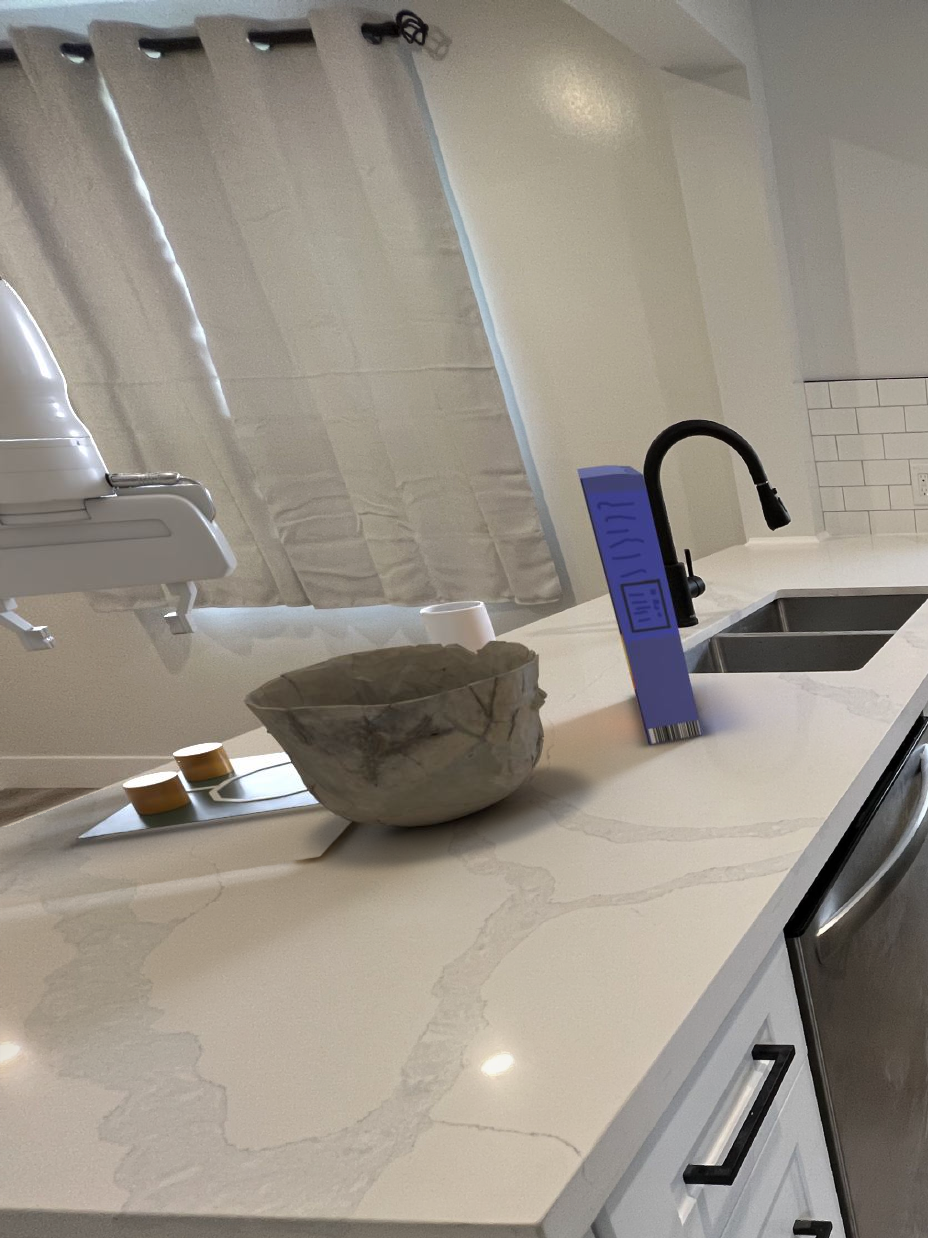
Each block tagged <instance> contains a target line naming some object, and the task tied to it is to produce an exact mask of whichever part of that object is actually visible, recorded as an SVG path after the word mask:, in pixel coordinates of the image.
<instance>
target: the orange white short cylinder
mask: <svg viewBox="0 0 928 1238" xmlns="http://www.w3.org/2000/svg"><path fill="white" fill-rule="evenodd" d="M177 773H178V772H175V771H163V772H155V773H150V774H145V775H142V776H139V777H136V778H133V779H129V780H128V781H126V782H124V783H123V784H122V786H121V787H122V788H123V791H124V792H125V794H126V797H128V799H129V802H130V803H132V805H133V807H134V809H135V811H136V812H137V814H140V815H150V814H157V813H162V812H166V811H170V810H173V809H176V808H179V807H182V806H184V805H186V804H188V803H189V802H190V801H191V799H190V797H189V795H188V793H187V791H186V789H185V787H184V786H183V784H182V782H181V780H180V778H179V776H178V774H177Z"/></svg>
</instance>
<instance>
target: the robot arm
mask: <svg viewBox="0 0 928 1238" xmlns="http://www.w3.org/2000/svg"><path fill="white" fill-rule="evenodd" d="M183 482H187V483H189V484H183ZM213 501H214V500H213V498H212V496H211V494H210V492H209V491H208V489H207V488H206V486H204V485H203V484H202V483H201V482H199V481H198V480H196V479H194V478H191V477H188V476H184V475H180V473H178V472H175V471H158V472H154V473H153V472H152V473H137V472H136V473H135V472H129V473H110V472H109V471H108V469H107V467H106V465H105V462H104V460H103V457H102V456H101V454H100V451H99V450H98V446H97V445H96V443H95V441H94V438H93V437H92V434H91V433H90V431H89V429H88V428H87V427H86V426H85V425H84V424H83V423H82V421H81V420H80V419H79V418H78V416H77V414H75V411H74V410H73V408H72V406H71V403H70V400H69V396H68V390H67V383H66V379H65V376H64V374H63V372H62V370H61V368H60V366H59V364H58V362H57V359H56V358H55V355H54V354H53V351H52V350H51V347H50V346H49V344H48V342H47V340H46V338H45V336H44V335H43V332H42V331H41V329H40V327H39V326H38V323H37V322H36V320H35V319H34V317H33V316H32V314H31V313H30V311H29V309H28V308H27V306H26V305H25V304H24V302H23V300H22V299H21V297H20V296H19V295H18V293H17V292H16V291H15V290H14V289H13V287H11V285H10V284H9V283H8V282H7V281H6V280H5V279H4V278H3V277H2V276H0V625H1V626H2V627H4V629H5V628H6V629H7V630H8V631H10V632H12V633H15V634H16V636H17V637H18V640H19V642H20V643H21V645H22V647H23V649H24V650H25V651H26V652H27V653H28V652H31V653H32V652H39V651H46V650H47V651H48V650H53V649H54V648H56V647H57V641H56V639H55V638H54V637H52V636H51V635H52V632H51V630H50V629H49V626H46V625H45V626H34V625H32V624H31V623H29V622H28V621H26V620H25V619H24V618H22V617H21V616H19V615H18V614H16V613H15V612H14V610H16V609H18V608H19V606H18V604H17V602H16V600H15V599H16V598H25V597H26V598H27V597H38V596H48V595H49V596H50V595H58V594H69V593H81V592H90V591H92V592H93V591H101V590H102V591H103V590H112V589H113V590H114V589H123V588H124V589H125V588H132V587H133V588H135V587H145V586H146V587H147V586H157V585H165V586H166V588H167V590H168V592H169V594H170V596H173V597H177V596H179V599H178V603H177V607H176V610H175V612H169V613H167V614H166V615H164V616H163V618H164V620H165V623H166V624H167V625H168V626H169V631H170V633H171V635H173V636H176V635H186V634H195V633H196V632H198V626H197V623H196V621H195V619H194V617H193V615H192V613H191V612H192V611H193V608H194V604H195V601H196V598H197V595H198V594H197V593H198V589H197V586H196V584H195V582H198V581H209V580H210V581H211V580H219V579H225V578H227V577H229V576H231V575H232V574H233V573H234V572H235V570H236V568H237V566H238V560H237V559H236V556H235V554H234V551H233V550H232V548H231V546H230V543H228V540H227V538H226V537H225V534H223V532H222V530H221V529H220V526H218V524H217V523H216V521H215V520H216V516H217V508H216V505H215V503H214V502H213Z"/></svg>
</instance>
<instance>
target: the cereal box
mask: <svg viewBox="0 0 928 1238" xmlns="http://www.w3.org/2000/svg"><path fill="white" fill-rule="evenodd" d="M576 471H577V474H578V479H579V481H580V482H579V483H580V486H581V490H582V493H583V494H582V495H583V498H584V502H585V505H586V509H587V513H588V517H589V520H590V524H591V528H592V532H593V536H594V541H595V543H596V548H597V552H598V556H599V560H600V563H601V567H602V571H603V575H604V578H605V583H606V587H607V590H608V591H607V592H608V594H609V598H610V602H611V605H612V610H613V613H614V618H615V621H616V626H617V629H618V633H619V637H620V641H621V645H622V649H623V652H624V656H625V661H626V665H627V668H628V671H629V676H630V679H631V683H632V687H633V691H634V695H635V698H636V702H637V706H638V709H639V713H640V717H641V721H642V724H643V728H644V732H645V736H646V739H647V744H648V745H649V746H651V745H657V744H662V743H667V742H673V741H678V740H684V739H690V738H694V737H695V738H696V737H699V736H703V731H702V727H701V722H700V717H699V713H698V709H697V704H696V701H695V697H694V696H695V695H694V692H693V686H692V682H691V679H690V675H689V669H688V666H687V659H686V657H685V653H684V648H683V643H682V638H681V634H680V630H679V626H678V620H677V617H676V613H675V609H674V603H673V600H672V594H671V590H670V586H669V582H668V578H667V573H666V569H665V564H664V560H663V556H662V551H661V546H660V541H659V538H658V533H657V529H656V525H655V521H654V517H653V511H652V508H651V503H650V499H649V494H648V490H647V485H646V481H645V477H644V476H645V475H644V474H643V473H641V472H640V471H638V470H637V469H635V468H634V467H632V466H631V465H618V464H617V465H616V464H615V465H614V464H612V465H610V464H609V465H605V464H604V465H597V466H590V467H582V468H576Z"/></svg>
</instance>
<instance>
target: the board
mask: <svg viewBox="0 0 928 1238" xmlns="http://www.w3.org/2000/svg"><path fill="white" fill-rule="evenodd" d="M229 760H230V762H231V764H232V766H233V768H234V770H233V771H232V772H230V773H228V774H226V775H223V776H220V777H217V778H213V779H209V780H203V781H186V780H185V778H184V776H183V774H182V772H181V770H179V771H178V772H176V773H177V774H178V776H179V778H180V780H181V782H182V784H183V786H184V787H185V789H186V791H187V793H188V795H189V797H190V799H191V801H190V802H189V803H188V804H186V805H184V806H182V807H179V808H176V809H173V810H170V811H166V812H162V813H157V814H150V815H140V814H137V812H136V811H135V809H134V807H133V805H132V803H131V802H130V803H129V804H126V805H125V806H124V807H122V808H121V809H119V810H118V811H116V812H115V813H113V814H112V815H110V816H109V817H107V818H106V819H104V820H103V821H101V822H100V823H98V824H96V825H95V826H93V827H92V828H90V829H88V830H87V831H85V832H84V833H83V834H81V835H80V836H78V837H76V840H82V839H89V838H96V837H101V836H102V837H103V836H109V835H115V834H122V833H128V832H129V833H130V832H136V831H144V830H149V829H156V828H164V827H171V826H177V825H184V824H191V823H198V822H204V821H211V820H218V819H226V818H233V817H239V816H246V815H247V816H248V815H253V814H260V813H267V812H274V811H280V810H288V809H294V808H300V807H307V806H314V805H321V804H320V803H319V802H318V801H317V800H316V799H315V798H314V797H313V796H312V794H310V793H309V791H308V790H307V788H306V787H305V785H304V784H303V782H302V779H301V777H300V775H299V774H298V772H297V771H296V769H295V767H294V766H293V764H292V763H291V761H290V758H289V757H288V755H287V754H286V753H285V751H284V752H277V753H267V754H260V755H253V756H252V755H251V756H245V757H237V758H229Z"/></svg>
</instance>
